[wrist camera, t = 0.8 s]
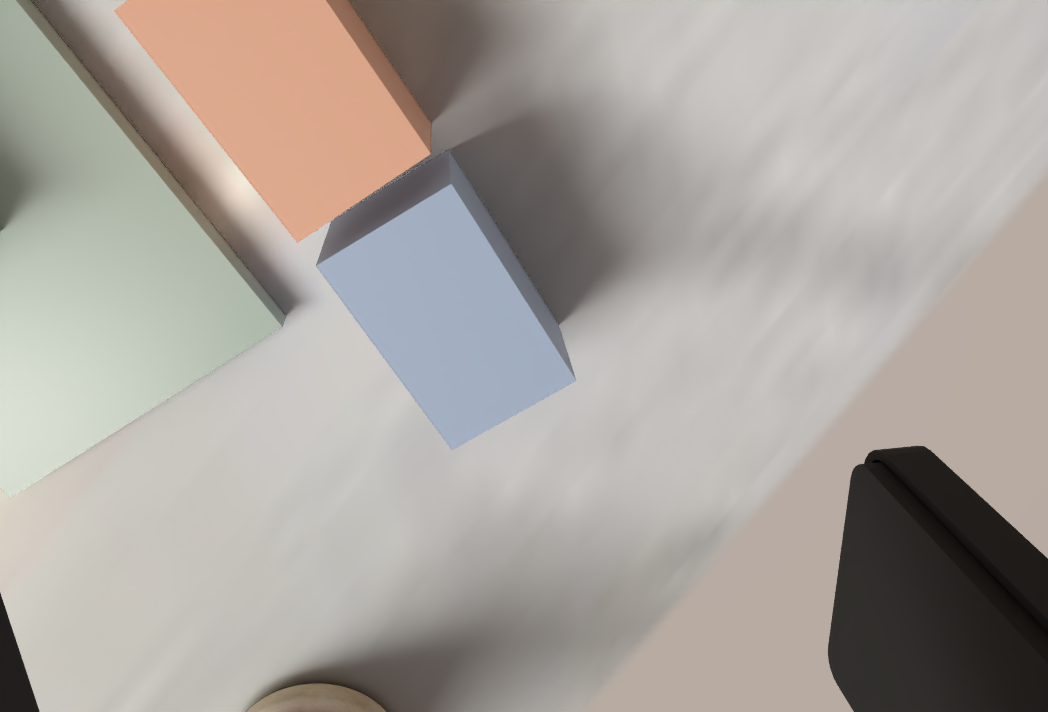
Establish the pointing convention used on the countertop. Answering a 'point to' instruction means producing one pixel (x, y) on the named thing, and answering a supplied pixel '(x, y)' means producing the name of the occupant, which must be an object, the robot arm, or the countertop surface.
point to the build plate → (97, 264)
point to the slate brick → (446, 301)
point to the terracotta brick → (288, 97)
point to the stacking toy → (316, 700)
